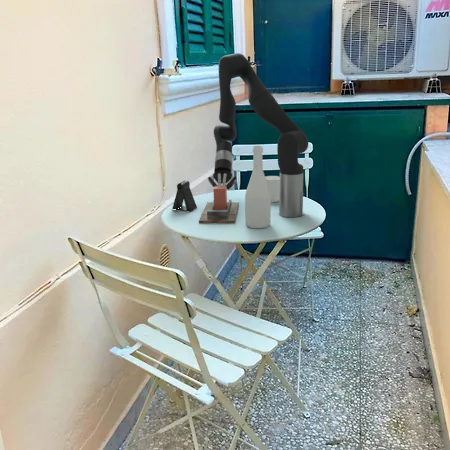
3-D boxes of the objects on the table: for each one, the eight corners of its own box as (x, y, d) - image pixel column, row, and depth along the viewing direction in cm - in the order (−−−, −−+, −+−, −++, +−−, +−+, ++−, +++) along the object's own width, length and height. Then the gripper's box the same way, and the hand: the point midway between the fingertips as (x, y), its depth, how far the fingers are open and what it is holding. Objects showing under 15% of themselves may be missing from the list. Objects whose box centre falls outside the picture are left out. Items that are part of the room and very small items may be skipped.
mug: (252, 200, 202) (252, 178, 198) (260, 196, 208) (260, 174, 205) (276, 203, 196) (276, 180, 192) (283, 198, 203) (284, 176, 199)
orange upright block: (227, 206, 189) (226, 185, 186) (226, 209, 184) (225, 188, 181) (215, 206, 189) (214, 185, 186) (214, 209, 184) (213, 188, 181)
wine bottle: (247, 220, 174) (246, 144, 164) (271, 221, 172) (272, 144, 162) (243, 228, 165) (243, 148, 155) (269, 229, 163) (270, 148, 154)
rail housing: (238, 204, 196) (238, 195, 194) (234, 223, 171) (234, 213, 170) (207, 204, 197) (207, 195, 196) (198, 223, 172) (198, 213, 171)
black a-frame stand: (197, 208, 192) (195, 181, 188) (190, 212, 187) (189, 184, 183) (178, 206, 196) (177, 179, 192) (172, 210, 190) (170, 182, 186)
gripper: (207, 158, 193) (204, 192, 185) (237, 157, 192) (236, 192, 184) (209, 167, 200) (207, 201, 192) (238, 167, 198) (237, 201, 191)
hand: (221, 197), depth 188 cm, fingers closed
